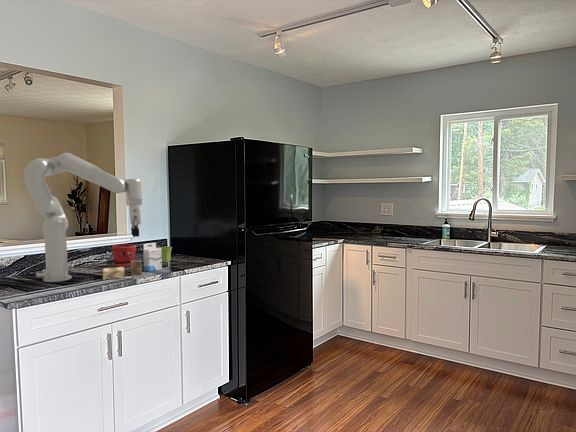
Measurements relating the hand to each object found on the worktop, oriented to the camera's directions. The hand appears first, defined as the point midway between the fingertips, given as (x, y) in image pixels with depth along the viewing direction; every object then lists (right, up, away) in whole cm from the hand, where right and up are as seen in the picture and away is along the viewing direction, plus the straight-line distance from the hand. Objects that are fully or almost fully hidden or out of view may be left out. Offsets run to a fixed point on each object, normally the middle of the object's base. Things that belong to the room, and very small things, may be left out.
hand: (135, 235), depth 227 cm
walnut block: (0, -20, +1) cm, 21 cm away
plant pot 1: (-15, -19, +26) cm, 36 cm away
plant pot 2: (+4, -18, +38) cm, 43 cm away
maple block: (-9, -21, -6) cm, 23 cm away
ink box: (+6, -20, +12) cm, 24 cm away
